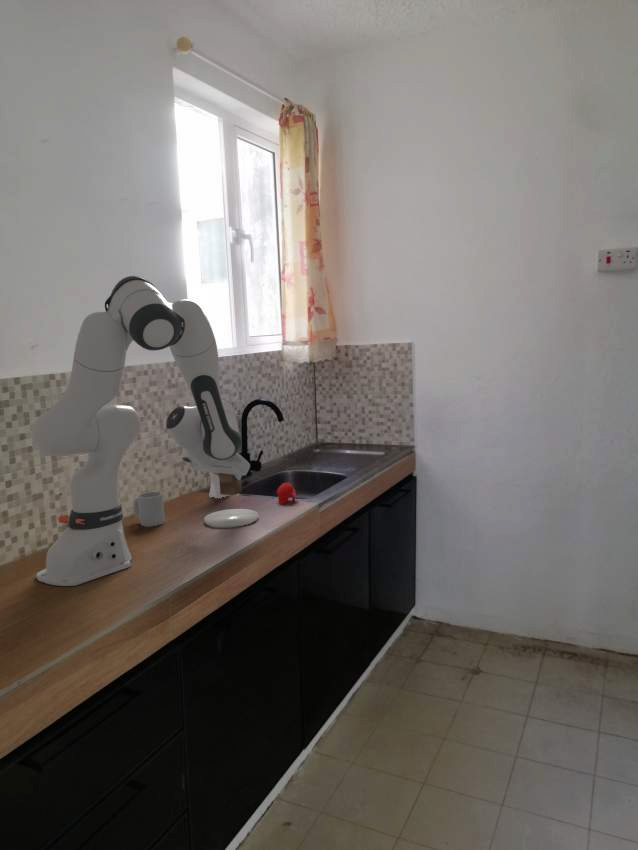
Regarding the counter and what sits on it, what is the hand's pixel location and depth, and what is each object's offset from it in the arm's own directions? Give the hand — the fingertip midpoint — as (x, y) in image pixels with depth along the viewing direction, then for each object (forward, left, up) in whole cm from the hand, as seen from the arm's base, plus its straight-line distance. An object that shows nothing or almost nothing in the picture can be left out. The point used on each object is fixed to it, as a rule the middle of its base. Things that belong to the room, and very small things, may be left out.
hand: (231, 477), depth 187 cm
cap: (+24, -3, -13) cm, 27 cm away
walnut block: (-1, 0, -5) cm, 5 cm away
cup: (-13, +23, -13) cm, 29 cm away
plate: (-1, +1, -13) cm, 13 cm away
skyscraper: (+21, +23, -13) cm, 34 cm away
